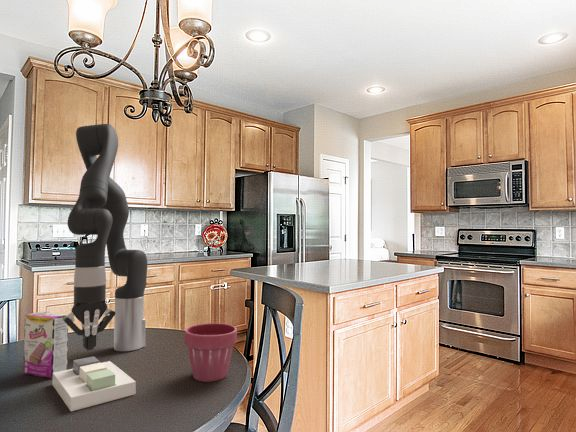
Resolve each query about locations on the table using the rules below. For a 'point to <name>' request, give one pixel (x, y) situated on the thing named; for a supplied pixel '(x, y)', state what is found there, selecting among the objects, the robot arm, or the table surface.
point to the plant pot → (210, 349)
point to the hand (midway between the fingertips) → (89, 349)
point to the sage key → (100, 380)
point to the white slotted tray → (82, 397)
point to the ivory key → (90, 370)
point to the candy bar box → (45, 344)
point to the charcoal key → (83, 363)
